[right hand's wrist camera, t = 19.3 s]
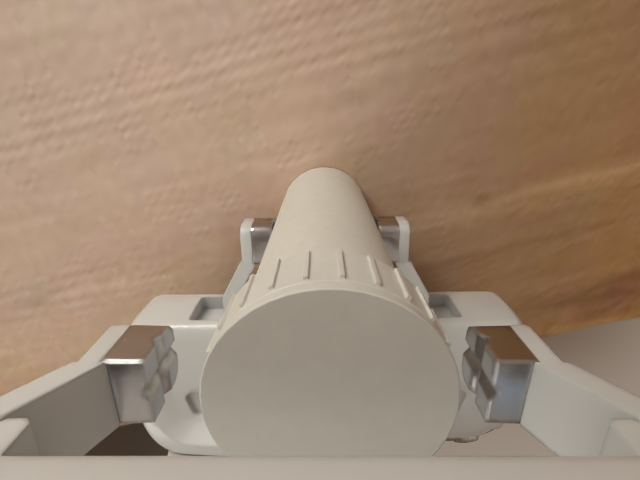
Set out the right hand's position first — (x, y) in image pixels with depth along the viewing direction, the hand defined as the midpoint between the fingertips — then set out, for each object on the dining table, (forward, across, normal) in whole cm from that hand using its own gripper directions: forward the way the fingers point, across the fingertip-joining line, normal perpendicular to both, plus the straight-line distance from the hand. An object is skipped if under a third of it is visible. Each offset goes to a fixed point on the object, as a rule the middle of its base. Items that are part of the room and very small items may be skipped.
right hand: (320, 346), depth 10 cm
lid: (-2, 0, 0) cm, 2 cm away
